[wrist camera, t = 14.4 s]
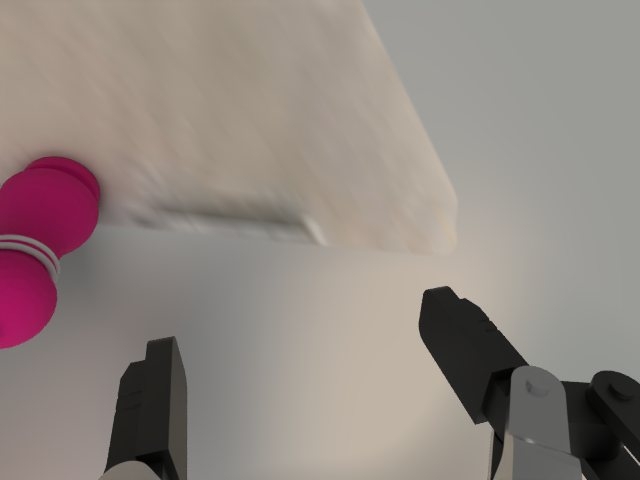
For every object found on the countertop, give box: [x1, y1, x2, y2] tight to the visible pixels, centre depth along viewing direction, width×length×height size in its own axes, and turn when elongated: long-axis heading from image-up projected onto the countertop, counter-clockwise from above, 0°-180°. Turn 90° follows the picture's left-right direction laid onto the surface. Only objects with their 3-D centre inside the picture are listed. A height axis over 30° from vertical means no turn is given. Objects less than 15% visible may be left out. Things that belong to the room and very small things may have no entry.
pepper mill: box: [0, 157, 100, 349], centre depth 30 cm, size 7×7×20 cm
